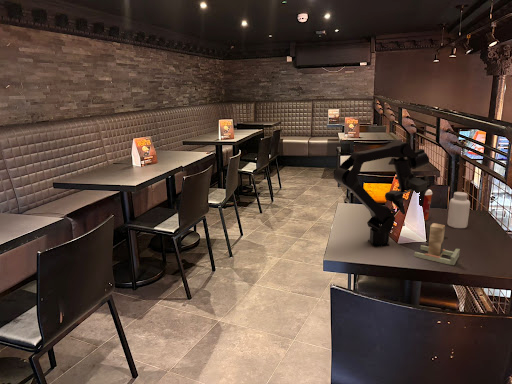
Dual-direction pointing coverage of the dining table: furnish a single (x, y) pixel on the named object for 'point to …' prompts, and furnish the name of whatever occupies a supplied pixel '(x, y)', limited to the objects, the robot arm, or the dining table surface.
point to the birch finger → (436, 239)
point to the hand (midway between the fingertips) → (412, 210)
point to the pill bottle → (458, 210)
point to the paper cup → (427, 203)
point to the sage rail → (451, 261)
